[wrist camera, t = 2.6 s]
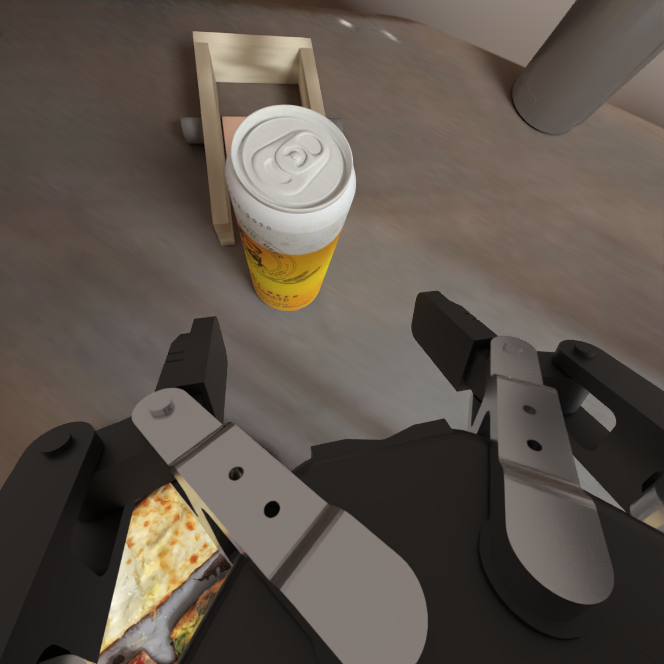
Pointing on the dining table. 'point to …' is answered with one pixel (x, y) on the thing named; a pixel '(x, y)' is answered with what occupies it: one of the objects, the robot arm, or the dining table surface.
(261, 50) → the wooden stick frame
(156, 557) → the food plate
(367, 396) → the dining table surface
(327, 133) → the beer can
